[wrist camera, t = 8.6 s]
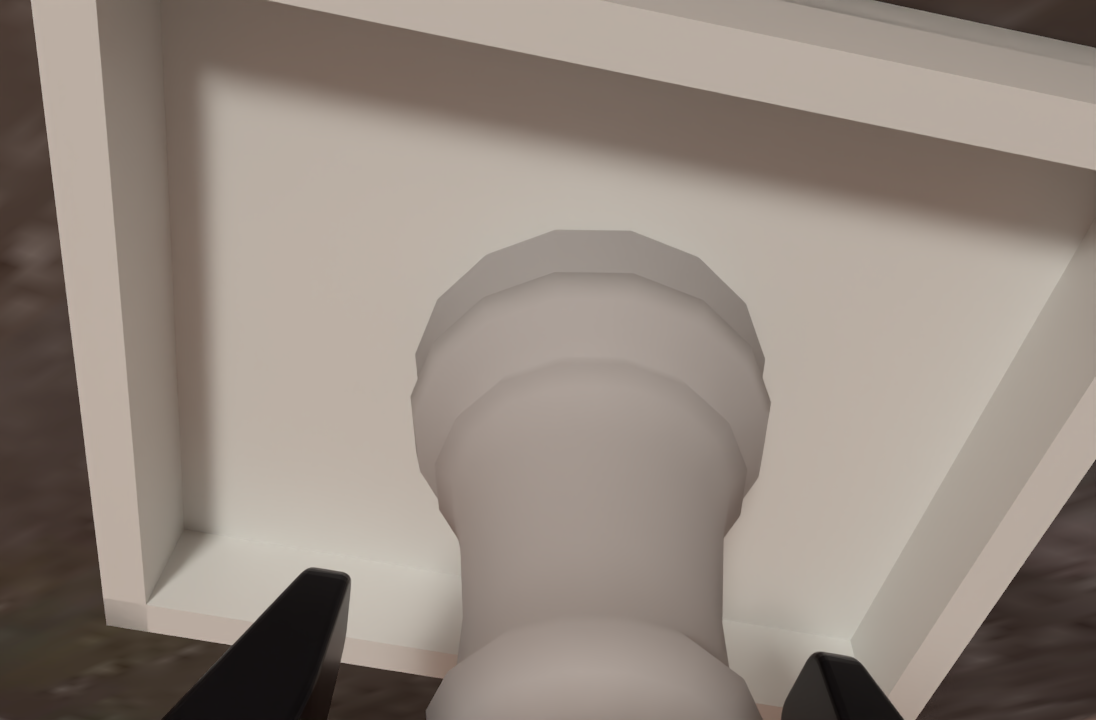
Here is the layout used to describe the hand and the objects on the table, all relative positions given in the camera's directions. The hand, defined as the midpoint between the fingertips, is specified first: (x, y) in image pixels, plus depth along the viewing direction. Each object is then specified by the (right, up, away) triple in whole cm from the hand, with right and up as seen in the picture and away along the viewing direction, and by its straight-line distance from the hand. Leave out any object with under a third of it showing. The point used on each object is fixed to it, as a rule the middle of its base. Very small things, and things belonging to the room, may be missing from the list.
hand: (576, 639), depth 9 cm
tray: (0, +3, +4) cm, 6 cm away
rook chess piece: (0, +3, +4) cm, 5 cm away
